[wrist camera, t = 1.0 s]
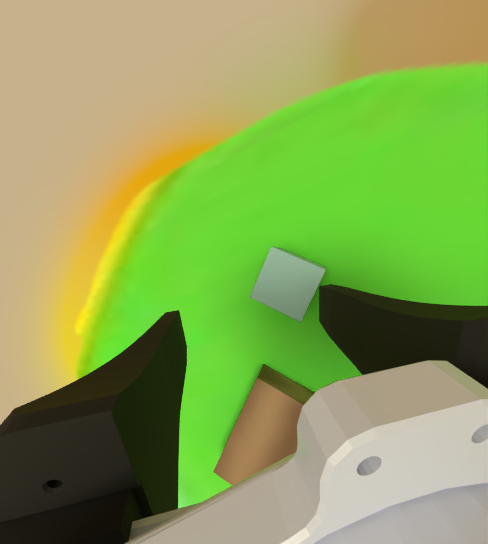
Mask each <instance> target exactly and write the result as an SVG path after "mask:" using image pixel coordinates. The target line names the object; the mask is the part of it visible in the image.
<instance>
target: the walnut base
mask: <svg viewBox="0 0 488 544" xmlns="http://www.w3.org/2000/svg"><path fill="white" fill-rule="evenodd" d="M313 394H314V392H312V391H310V390H309V389H307V388H305V387H303V386H301V385H300V384H298V383H296V382H294V381H293V380H291V379H289V378H287V377H285V376H284V375H282V374H280V373H278V372H277V371H275V370H273V369H271V368H269V367H268V366H266V365H263V367H262V369H261V371H260V373H259V375H258V377H257V379H256V381H255V383H254V386H253V388H252V390H251V392H250V394H249V396H248V398H247V401H246V403H245V405H244V407H243V409H242V411H241V414H240V416H239V418H238V420H237V422H236V424H235V426H234V429H233V431H232V433H231V435H230V437H229V439H228V441H227V444H226V446H225V448H224V450H223V452H222V454H221V457H220V459H219V461H218V463H217V465H216V467H215V469H214V473H216V474H217V475H219V476H220V477H221V478H223V479H224V480H225V481H227V482H228V483H230V484H231V485H232V486H233V485H235V484H237V483H239V482H240V481H242V480H244V479H246V478H248V477H250V476H252V475H254V474H255V473H257V472H259V471H261V470H263V469H265V468H267V467H268V466H270V465H272V464H274V463H276V462H278V461H280V460H282V459H283V458H285V457H287V456H289V455H291V454H293V453H295V452H296V451H297V444H298V439H297V423H298V420H299V416H300V413H301V409H302V407H303V405H304V404H305V403H306V402H307V401H308V400H309V399H310V397H311V396H312V395H313Z"/></svg>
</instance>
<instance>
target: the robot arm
mask: <svg viewBox="0 0 488 544" xmlns="http://www.w3.org/2000/svg"><path fill="white" fill-rule="evenodd" d="M319 321H320V323H321V324H322V326H323V328H324V329H325V331H326V332H327V334H328V335H329V337H330V338H331V339H332V340H333V341H334V342H335V344H336V345H337V346H338V347H339V348H340V349H341V350H342V352H343V353H344V354H345V355H346V356H347V357H348V358H349V360H350V361H351V362H352V363H353V364H354V365H355V366H356V368H357V369H358V370H359V371H360V372H361V374H362V375H361V376H357V377H352V378H348V379H344V380H339V381H336V382H334V383H331V384H329V385H327V386H325V387H323V388H320V389H318V390H317V391H316V392H315V393H314V394H313V395H312V396H311V397H310V399H309V400H308V401H307V402H306V403H305V404H304V405H303V407H302V409H301V413H300V416H299V420H298V423H297V439H298V444H297V451H296V452H295V453H293V454H291V455H289V456H287V457H285V458H283V459H282V460H280V461H278V462H276V463H274V464H272V465H270V466H268V467H267V468H265V469H263V470H261V471H259V472H257V473H255V474H254V475H252V476H250V477H248V478H246V479H244V480H242V481H240V482H239V483H237V484H235V485H233V486H231V487H229V488H227V489H226V490H224V491H222V492H220V493H218V494H216V495H214V496H212V497H211V498H209V499H207V500H205V501H203V502H201V503H197V504H194V505H190V506H187V507H183V508H179V509H178V455H179V422H180V409H181V401H182V394H183V387H184V380H185V373H186V365H187V345H186V341H185V336H184V331H183V327H182V322H181V317H180V313H179V310H178V311H172V312H166V313H165V314H164V315H163V316H162V317H161V318H160V319H159V320H158V321H157V322H156V323H155V324H154V325H153V326H151V327H150V328H149V329H148V330H147V331H146V332H145V333H144V334H143V335H142V336H141V337H140V338H139V339H137V340H136V341H135V342H134V343H133V344H132V345H131V346H129V347H128V348H127V349H125V350H124V351H123V352H122V353H120V354H119V355H117V356H116V357H115V358H113V359H112V360H110V361H109V362H107V363H105V364H104V365H102V366H101V367H99V368H97V369H96V370H94V371H92V372H91V373H89V374H87V375H86V376H84V377H82V378H80V379H78V380H76V381H75V382H73V383H71V384H69V385H67V386H65V387H63V388H61V389H59V390H56V391H54V392H52V393H50V394H48V395H45V396H43V397H41V398H39V399H36V400H34V401H32V402H30V403H27V404H25V405H22V406H20V407H17V408H15V409H14V410H13V411H12V412H11V413H10V415H9V416H8V417H7V418H6V419H5V420H4V422H3V423H2V424H1V425H0V544H488V306H457V305H440V304H428V303H419V302H412V301H405V300H399V299H393V298H388V297H384V296H379V295H375V294H370V293H366V292H362V291H359V290H355V289H351V288H347V287H343V286H338V285H331V284H330V285H324V286H319Z"/></svg>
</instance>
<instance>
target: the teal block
mask: <svg viewBox="0 0 488 544" xmlns="http://www.w3.org/2000/svg"><path fill="white" fill-rule="evenodd" d="M325 271H326V269H325V267H324V266H322V265H320V264H318V263H315V262H313V261H311V260H308V259H306V258H304V257H301V256H299V255H296V254H294V253H292V252H289V251H287V250H285V249H282V248H277V247H271V249H270V251H269V253H268V256H267V258H266V260H265V263H264V265H263V267H262V270H261V272H260V274H259V277H258V279H257V281H256V284H255V286H254V288H253V291H252V293H251V295H250V297H251V298H253V299H255V300H257V301H259V302H261V303H263V304H265V305H267V306H269V307H271V308H273V309H275V310H277V311H279V312H281V313H283V314H285V315H287V316H289V317H291V318H293V319H295V320H297V321H299V322H301V321H302V319H303V316H304V314H305V312H306V310H307V308H308V306H309V304H310V302H311V300H312V298H313V296H314V294H315V292H316V289H317V287H318V285H319V283H320V281H321V279H322V277H323V275H324V273H325Z"/></svg>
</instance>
